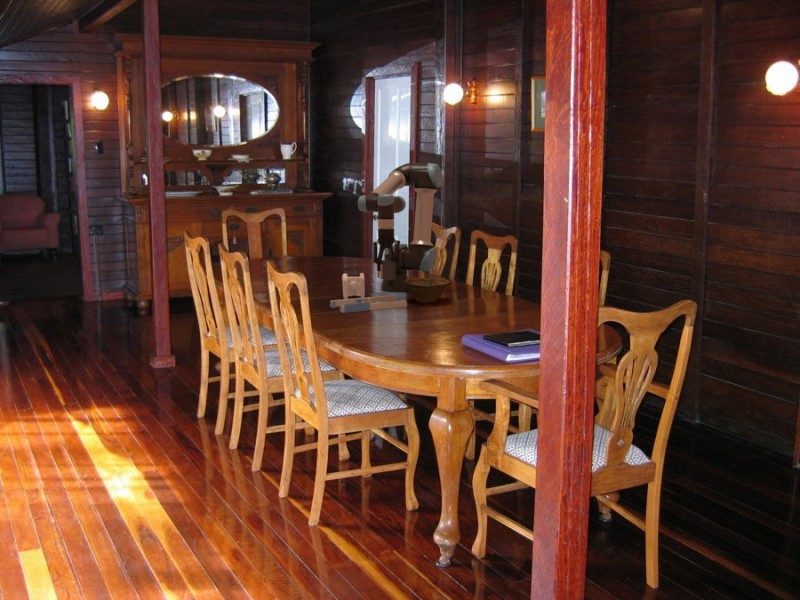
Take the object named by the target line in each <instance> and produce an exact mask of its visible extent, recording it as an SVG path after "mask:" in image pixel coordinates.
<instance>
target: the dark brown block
mask: <svg viewBox="0 0 800 600" xmlns="http://www.w3.org/2000/svg"><path fill="white" fill-rule="evenodd" d="M381 264H382V266H383V278H382V279H381V280H382V281H383V280H394V279H395V262H393V261H390V260H384V259H382V261H381ZM377 278H379V271H377ZM379 279H380V278H379Z"/></svg>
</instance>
